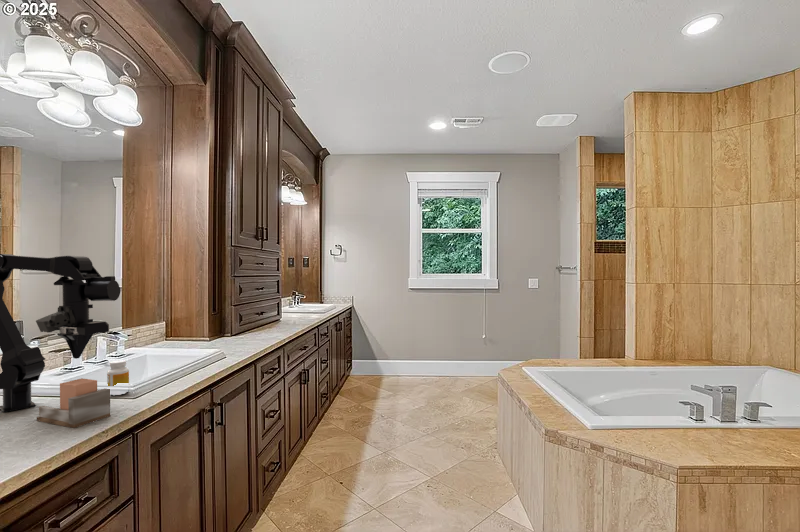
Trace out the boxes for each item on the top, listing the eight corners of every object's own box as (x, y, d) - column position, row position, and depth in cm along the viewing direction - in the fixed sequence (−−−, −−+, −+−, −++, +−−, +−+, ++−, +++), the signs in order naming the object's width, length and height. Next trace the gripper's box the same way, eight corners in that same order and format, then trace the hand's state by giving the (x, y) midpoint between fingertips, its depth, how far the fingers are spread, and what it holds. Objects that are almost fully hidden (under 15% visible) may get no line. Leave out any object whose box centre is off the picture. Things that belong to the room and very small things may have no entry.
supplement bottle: (133, 391, 127) (133, 359, 127) (119, 396, 121) (119, 363, 121) (117, 391, 127) (116, 359, 127) (102, 396, 122) (102, 363, 122)
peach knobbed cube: (58, 413, 102) (58, 383, 102) (80, 407, 107) (80, 378, 107) (75, 416, 100) (75, 385, 100) (97, 410, 104) (97, 380, 104)
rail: (36, 420, 103) (36, 393, 103) (74, 409, 111) (73, 384, 111) (74, 428, 97) (73, 399, 97) (110, 416, 105) (110, 389, 105)
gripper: (20, 303, 110) (20, 362, 110) (64, 304, 103) (65, 367, 103) (67, 300, 120) (67, 353, 120) (110, 301, 113) (110, 358, 113)
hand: (76, 358), depth 114 cm, fingers closed
